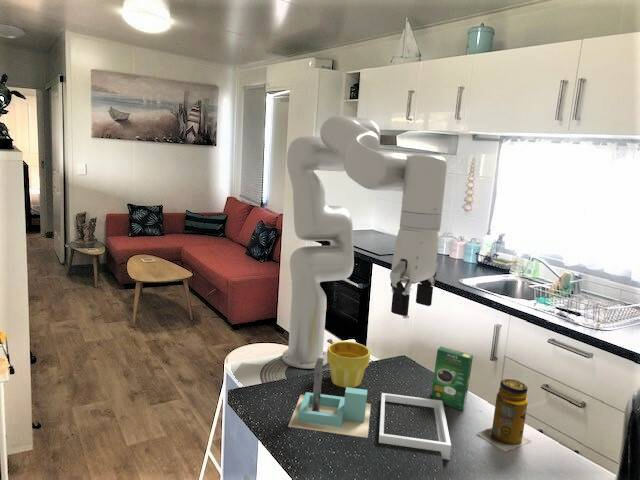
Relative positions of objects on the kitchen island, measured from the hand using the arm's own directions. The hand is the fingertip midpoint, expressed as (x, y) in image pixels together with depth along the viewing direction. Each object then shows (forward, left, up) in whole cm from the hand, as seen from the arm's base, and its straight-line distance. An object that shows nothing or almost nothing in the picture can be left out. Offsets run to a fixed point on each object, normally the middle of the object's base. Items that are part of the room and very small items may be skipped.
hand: (411, 309), depth 97 cm
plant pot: (-20, -13, -28) cm, 37 cm away
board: (-3, -14, -27) cm, 31 cm away
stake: (-3, -18, -26) cm, 32 cm away
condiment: (-6, +22, -28) cm, 36 cm away
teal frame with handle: (-3, -14, -26) cm, 30 cm away
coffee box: (-18, +12, -28) cm, 35 cm away
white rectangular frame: (-4, +3, -27) cm, 28 cm away
